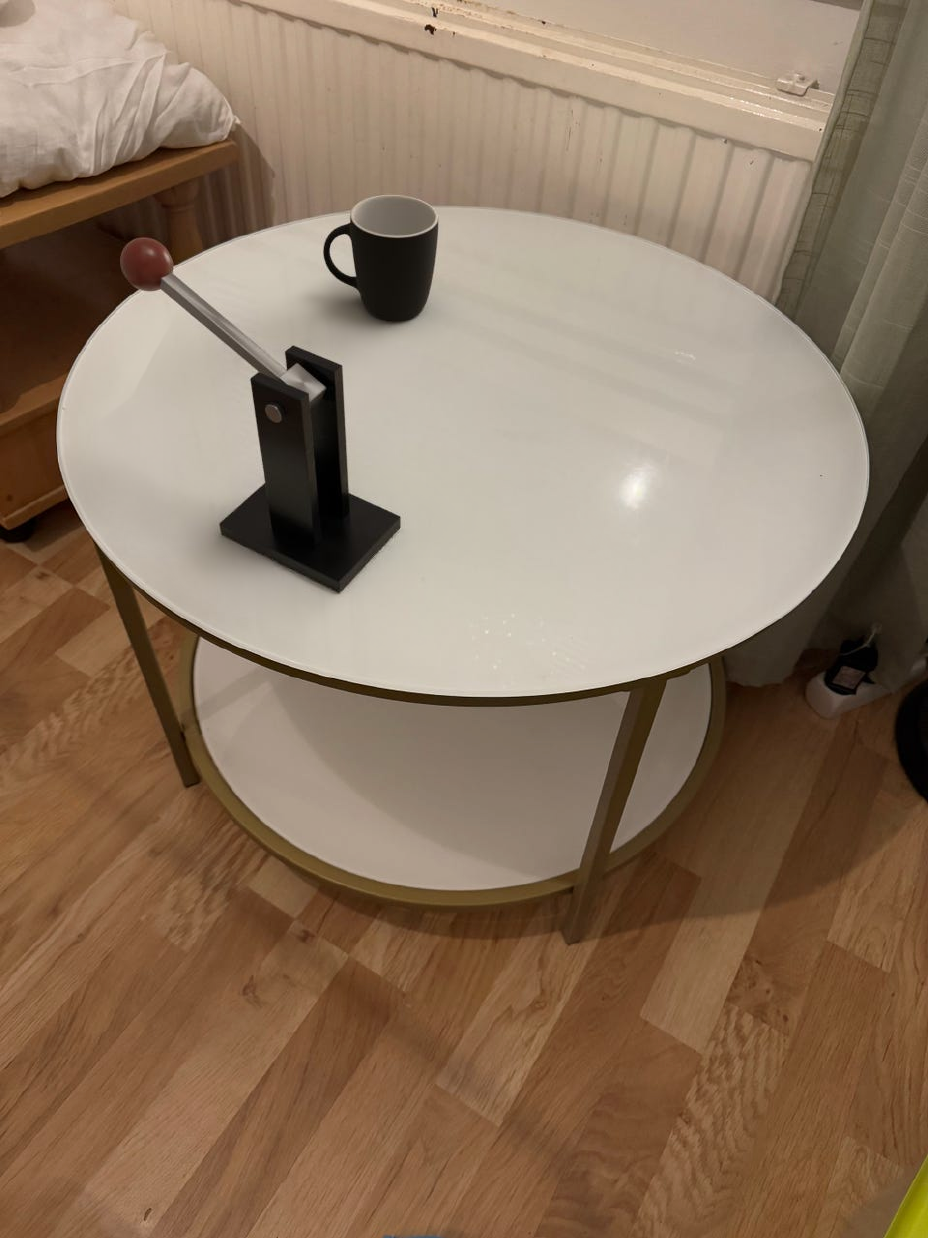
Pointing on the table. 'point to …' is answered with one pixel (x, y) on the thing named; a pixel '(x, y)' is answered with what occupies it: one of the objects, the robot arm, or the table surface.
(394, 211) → the mug
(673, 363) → the table surface
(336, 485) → the bracket
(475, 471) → the table surface
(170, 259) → the lever
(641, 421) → the table surface
